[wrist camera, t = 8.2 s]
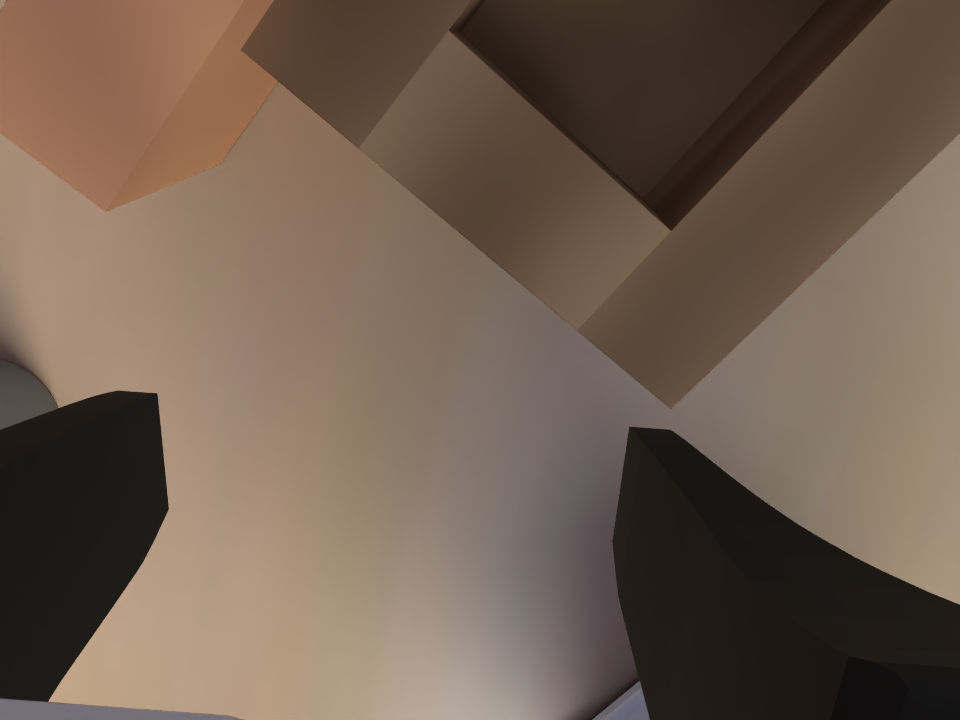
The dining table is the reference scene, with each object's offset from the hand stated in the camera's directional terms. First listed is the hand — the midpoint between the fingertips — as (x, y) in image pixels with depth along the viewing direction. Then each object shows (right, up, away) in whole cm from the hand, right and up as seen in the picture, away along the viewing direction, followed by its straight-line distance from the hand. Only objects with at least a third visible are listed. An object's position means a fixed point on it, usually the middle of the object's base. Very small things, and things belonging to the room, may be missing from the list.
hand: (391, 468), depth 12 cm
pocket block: (+5, +10, +6) cm, 12 cm away
